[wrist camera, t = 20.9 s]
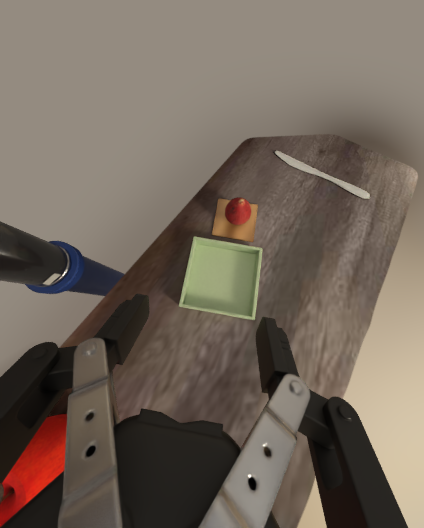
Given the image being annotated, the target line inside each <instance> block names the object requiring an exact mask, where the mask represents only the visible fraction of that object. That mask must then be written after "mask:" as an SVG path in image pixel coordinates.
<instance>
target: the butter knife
mask: <svg viewBox="0 0 424 528" xmlns="http://www.w3.org/2000/svg"><path fill="white" fill-rule="evenodd" d="M275 154H276V155H278V156H279V157H280V158H281V159H282V160H284V161H285V162H286V163H288V164H289V165H291V166H293V167H295V168H297V169H300V170H302V171H305V172H308V173H311V174H314V175H317V176H320V177H322V178H325V179H328V180H330V181H332V182H334V183H336V184H337V185H339V186H341V187H342V188H344V189H346V190H347V191H349V192H351V193H353V194H355V195H357V196H359V197H361V198H364V199H368V198H369V197H370V195H369V194H368V193H367V192H366V191H364V190H362V189H360V188H358V187H356V186H353V185H351V184H349V183H346V182H344V181H341V180H338V179H336V178H334V177H331V176H329V175H327V174H325V173H322V172H320V171H318V170H316V169H314V168H312V167H310V166H308V165H306V164H304V163H302V162H300V161H298V160H296V159H294V158H292V157H289V156H287V155H285V154H283V153H282V152H279V151H275Z"/></svg>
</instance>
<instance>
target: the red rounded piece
mask: <svg viewBox="0 0 424 528" xmlns="http://www.w3.org/2000/svg"><path fill="white" fill-rule="evenodd" d="M250 216H251V206H250V204H249V202H248V201H247V200H245V199H243V198H234V199H232V200H231V201H230V202H228V204H227V206H226V208H225V217H226V219H227V220H228V221H229V222H230V223H231V224H234V225H241V224H244V223H246V222H247V221H248V220H249V218H250Z"/></svg>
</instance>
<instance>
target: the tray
mask: <svg viewBox="0 0 424 528" xmlns="http://www.w3.org/2000/svg"><path fill="white" fill-rule="evenodd" d="M262 249H263V248H259V247H253V246H247V245H241V244H235V243H229V242H223V241H218V240H212V239H206V238H200V237H194V238H193V243H192V247H191V252H190V257H189V261H188V266H187V270H186V275H185V280H184V284H183V289H182V293H181V298H180V303H179V307H184V308H190V309H195V310H201V311H206V312H212V313H217V314H223V315H228V316H234V317H239V318H245V319H250V320H255V313H256V304H257V295H258V286H259V276H260V267H261V258H262Z"/></svg>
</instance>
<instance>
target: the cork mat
mask: <svg viewBox="0 0 424 528" xmlns="http://www.w3.org/2000/svg"><path fill="white" fill-rule="evenodd" d="M230 201H231V200H225V199H218V204H217V209H216V214H215V220H214V225H213V230H212V235H214V236H220V237H226V238H231V239H237V240H243V241H249V242H253V240H254V232H255V224H256V216H257V207H258V205H255V204H250V206H251V216H250V218H249V220H248V221H247V222H246V223H244V224H241V225H234V224H231V223H230V222H229V221H228V220H227V219H226V217H225V208H226V206H227V204H228V202H230Z"/></svg>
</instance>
